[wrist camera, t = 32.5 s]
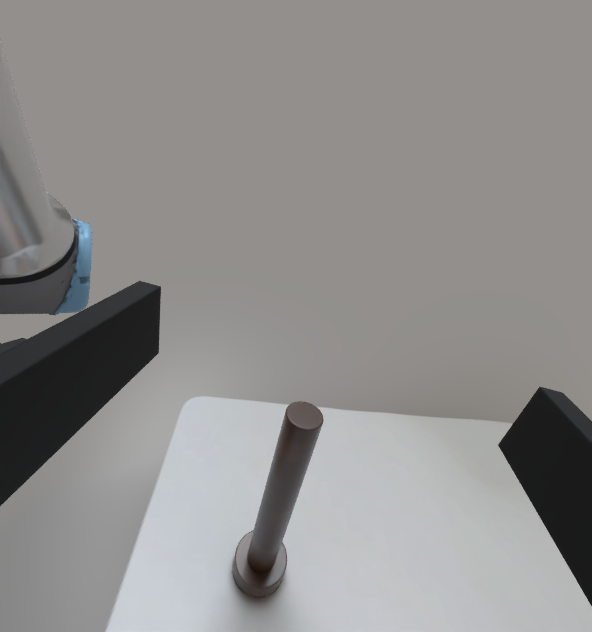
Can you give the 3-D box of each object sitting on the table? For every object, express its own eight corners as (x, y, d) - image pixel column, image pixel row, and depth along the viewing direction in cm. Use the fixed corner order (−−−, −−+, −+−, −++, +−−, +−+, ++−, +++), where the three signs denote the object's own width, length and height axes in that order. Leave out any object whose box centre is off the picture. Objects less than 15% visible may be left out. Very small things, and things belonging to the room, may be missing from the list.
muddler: (225, 588, 25) (262, 430, 17) (241, 532, 29) (278, 383, 21) (278, 605, 25) (338, 452, 17) (287, 546, 29) (340, 401, 21)
